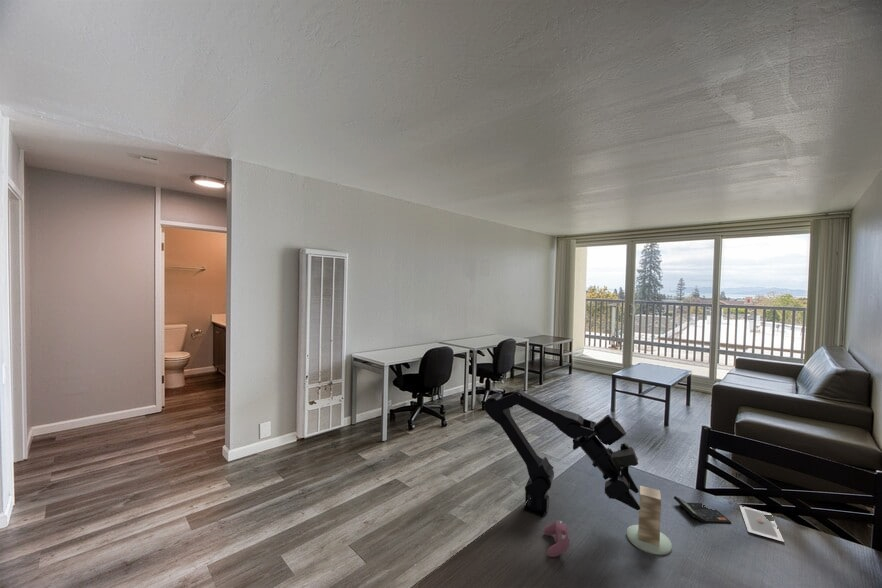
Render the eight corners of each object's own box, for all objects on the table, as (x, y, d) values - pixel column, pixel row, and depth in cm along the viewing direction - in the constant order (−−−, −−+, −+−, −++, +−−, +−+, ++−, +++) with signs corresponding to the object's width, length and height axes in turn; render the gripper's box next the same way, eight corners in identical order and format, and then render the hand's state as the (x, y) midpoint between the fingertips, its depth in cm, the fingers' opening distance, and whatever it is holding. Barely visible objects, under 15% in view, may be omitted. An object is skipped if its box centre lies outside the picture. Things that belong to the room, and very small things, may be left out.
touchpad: (748, 535, 106) (748, 527, 106) (739, 508, 119) (739, 502, 119) (784, 545, 102) (784, 538, 102) (771, 517, 115) (771, 510, 115)
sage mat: (624, 544, 101) (624, 541, 101) (628, 522, 110) (629, 520, 110) (671, 561, 95) (671, 558, 95) (671, 537, 104) (672, 534, 104)
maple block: (638, 540, 101) (640, 494, 101) (638, 529, 106) (639, 485, 105) (659, 546, 99) (661, 499, 99) (658, 535, 103) (659, 490, 103)
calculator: (731, 524, 110) (731, 514, 110) (692, 523, 111) (692, 513, 111) (708, 505, 120) (709, 496, 120) (673, 504, 120) (673, 495, 120)
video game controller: (561, 565, 95) (575, 544, 94) (545, 555, 95) (558, 534, 94) (556, 539, 104) (568, 519, 104) (542, 530, 105) (553, 510, 104)
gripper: (620, 451, 97) (666, 504, 92) (620, 427, 113) (659, 471, 109) (587, 472, 100) (630, 524, 96) (591, 446, 117) (628, 489, 113)
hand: (638, 500), depth 103 cm, fingers open, 9 cm apart
